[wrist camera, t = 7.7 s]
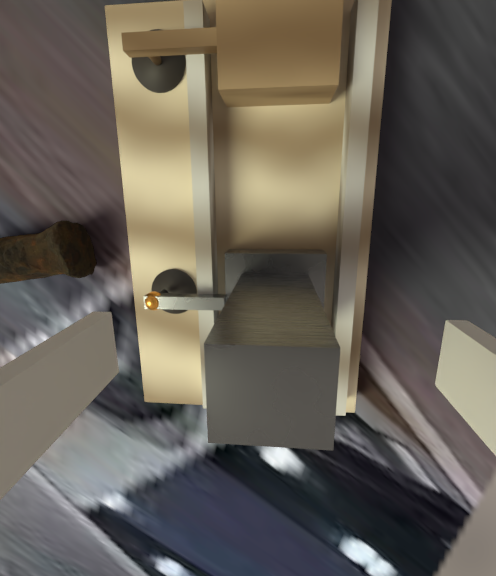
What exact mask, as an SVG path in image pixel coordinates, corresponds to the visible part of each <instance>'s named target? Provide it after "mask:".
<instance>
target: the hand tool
mask: <svg viewBox="0 0 496 576" xmlns="http://www.w3.org/2000/svg"><path fill="white" fill-rule="evenodd" d="M96 264H97V263H96V259H95V255H94V248H93V245H92V242H91V239H90V236H89V235H88V233H87V230H86V229H85V228H84V227H83V226H82V225H81V224H79V223H71V222H69V221H60V222H56V223H55V224H54V225H52V226H51V227H50V228H48V229H46V230H45V231H43V232H41V233H37V234H28V235H19V236H9V237H3V238H0V284H1V283H8V282H17V281H22V280H29V279H37V278H45V277H49V276H53V275H58V274H66V275H68V276H71V277H75V278H82V277H86V276H87V275H89V274H93V272H94V268H95V266H96Z"/></svg>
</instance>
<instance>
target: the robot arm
mask: <svg viewBox="0 0 496 576" xmlns="http://www.w3.org/2000/svg"><path fill="white" fill-rule="evenodd" d="M118 372H119V368H118V361H117V353H116V345H115V338H114V330H113V322H112V315H111V312H92V313H91V314H89V315H87V316H86V317H84V318H82V319H81V320H79V321H77V322H76V323H74V324H72V325H71V326H69V327H67V328H66V329H64V330H62V331H61V332H59V333H57V334H56V335H54V336H52V337H51V338H49V339H47V340H46V341H44V342H42V343H41V344H39V345H37V346H36V347H34V348H32V349H31V350H29V351H28V352H26V353H24V354H23V355H21V356H19V357H18V358H16V359H14V360H13V361H11V362H9V363H8V364H6V365H4V366H3V367H1V368H0V500H1V499H2V498H3V497H4V495H5V494H6V493H7V492H8V491H9V490H10V489H11V488H12V487H13V486H14V485H15V484H16V483H17V481H18V480H19V479H20V478H21V477H22V476H23V475H24V474H25V473H26V472H27V471H28V470H29V469H30V467H31V466H32V465H33V464H34V463H35V462H36V461H37V460H38V459H39V458H40V457H41V456H42V454H43V453H44V452H45V451H46V450H47V449H48V448H49V447H50V446H51V445H52V444H53V443H54V442H55V440H56V439H57V438H58V437H59V436H60V435H61V434H62V433H63V432H64V431H65V430H66V429H67V427H68V426H69V425H70V424H71V423H72V422H73V421H74V420H75V419H76V418H77V417H78V416H79V415H80V413H81V412H82V411H83V410H84V409H85V408H86V407H87V406H88V405H89V404H90V403H91V402H92V400H93V399H94V398H95V397H96V396H97V395H98V394H99V393H100V392H101V391H102V390H103V389H104V388H105V386H106V385H107V384H108V383H109V382H110V381H111V380H112V379H113V378H114V377H115V376H116V375H117V374H118ZM435 385H436V387H437V388H438V389H439V390H440V391H441V392H442V394H443V395H444V396H445V397H446V398H447V399H448V401H449V402H450V403H451V404H452V405H453V406H454V408H455V409H456V410H457V411H458V412H459V414H460V415H461V416H462V417H463V418H464V419H465V421H466V422H467V423H468V424H469V425H470V426H471V428H472V429H473V430H474V431H475V432H476V433H477V435H478V436H479V437H480V438H481V439H482V440H483V442H484V443H485V444H486V445H487V446H488V447H489V449H490V450H491V451H492V452H493V453H494V454H495V456H496V338H494V337H493V336H491V335H490V334H488V333H486V332H485V331H483V330H482V329H480V328H478V327H477V326H475V325H474V324H472V323H471V322H469V321H466V320H446V322H445V328H444V334H443V340H442V346H441V352H440V358H439V364H438V370H437V376H436V382H435Z"/></svg>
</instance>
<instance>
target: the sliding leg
mask: <svg viewBox="0 0 496 576" xmlns="http://www.w3.org/2000/svg"><path fill="white" fill-rule="evenodd" d="M326 263H327V253H326V252H325V251H324V250H322V249H229V250H228V251H227V252H225V292H226V294H179V293H168V291H167V290H165V289H163V290H162V291H160V292H156V291H153V292H150V293H148V294H146V295H145V296H143V298H144V309H150V310H158V309H174V310H217V311H221V313H220V315H219V316H218V318H217V320H216V322H215V324H214V326H213V327H212V329H211V331H210V333H209V335H208V337H207V339H206V340H205V342H204V360H205V382H206V404H207V426H208V443H222V444H238V445H254V446H271V447H287V448H303V449H319V450H333V446H334V432H335V418H336V404H337V390H338V377H339V363H340V349H341V348H340V346H339V344H338V341H337V339H336V337H335V334H334V332H333V330H332V327H331V325H330V323H329V321H328V318H327V316H326V314H325V311H324V298H325V281H326Z"/></svg>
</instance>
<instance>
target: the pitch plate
mask: <svg viewBox="0 0 496 576" xmlns="http://www.w3.org/2000/svg"><path fill="white" fill-rule="evenodd" d="M391 2H392V0H179V1H165V2H150V3H135V4H121V5H106V6H105V14H106V24H107V33H108V43H109V53H110V63H111V73H112V83H113V93H114V103H115V112H116V122H117V132H118V142H119V152H120V162H121V172H122V182H123V191H124V201H125V211H126V221H127V231H128V241H129V251H130V261H131V270H132V280H133V290H134V300H135V310H136V320H137V330H138V340H139V350H140V359H141V369H142V379H143V389H144V399H145V402H159V403H178V404H198V405H203V408H207V404H206V382H205V360H204V342H205V340H206V339H207V337H208V335H209V333H210V331H211V329H212V327H213V326H214V324H215V322H216V320H217V318H218V316H219V315H220V313H221V311H217V310H174V309H158V310H150V309H144V298H143V296H145V295H146V294H148V293H150V292H153V291H156V292H160V291H162V290H163V289H165V290H167V291H168V293H179V294H226V292H225V252H227V251H228V250H229V249H322V250H324V251H325V252H326V253H327V263H326V281H325V298H324V311H325V314H326V316H327V318H328V321H329V323H330V325H331V327H332V330H333V332H334V334H335V337H336V339H337V341H338V344H339V346H340V348H341V349H340V363H339V377H338V390H337V404H336V415H343V416H345V414H346V412H354V413H355V404H356V393H357V382H358V371H359V360H360V348H361V337H362V326H363V315H364V304H365V293H366V281H367V270H368V259H369V248H370V237H371V226H372V214H373V203H374V192H375V181H376V170H377V158H378V147H379V136H380V125H381V114H382V103H383V91H384V80H385V69H386V58H387V47H388V36H389V24H390V13H391Z"/></svg>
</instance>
